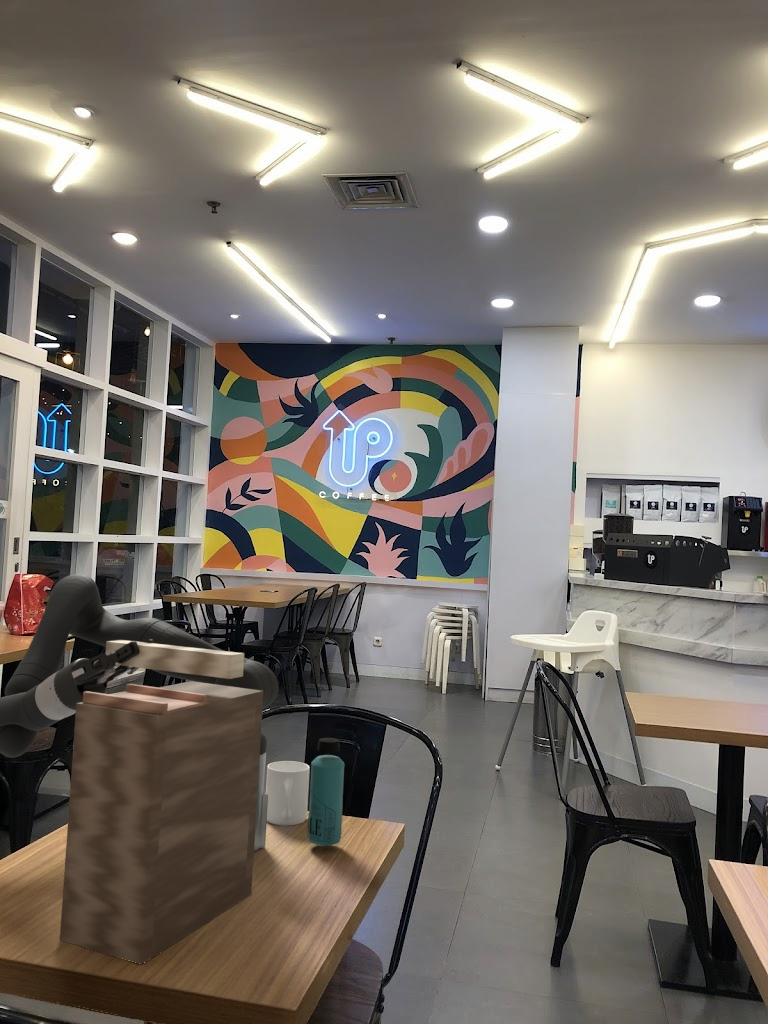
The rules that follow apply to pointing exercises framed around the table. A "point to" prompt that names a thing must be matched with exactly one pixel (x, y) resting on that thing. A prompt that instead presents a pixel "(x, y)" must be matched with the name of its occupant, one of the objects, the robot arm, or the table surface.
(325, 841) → the beverage bottle
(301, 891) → the table surface
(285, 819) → the mug
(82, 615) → the robot arm
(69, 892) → the brown wooden box
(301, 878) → the table surface
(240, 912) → the table surface
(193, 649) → the cream long bar
